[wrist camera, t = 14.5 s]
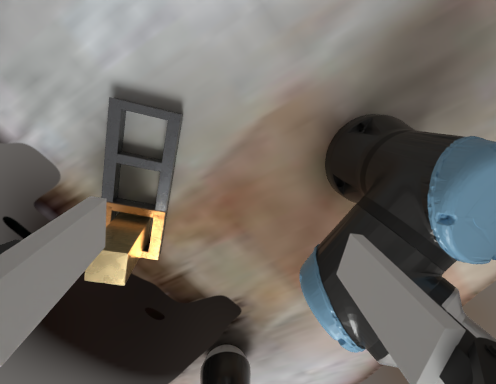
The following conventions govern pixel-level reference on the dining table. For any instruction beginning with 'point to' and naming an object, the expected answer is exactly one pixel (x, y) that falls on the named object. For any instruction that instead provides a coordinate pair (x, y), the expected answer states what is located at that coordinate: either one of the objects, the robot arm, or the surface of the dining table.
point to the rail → (165, 166)
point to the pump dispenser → (225, 366)
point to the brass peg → (120, 249)
